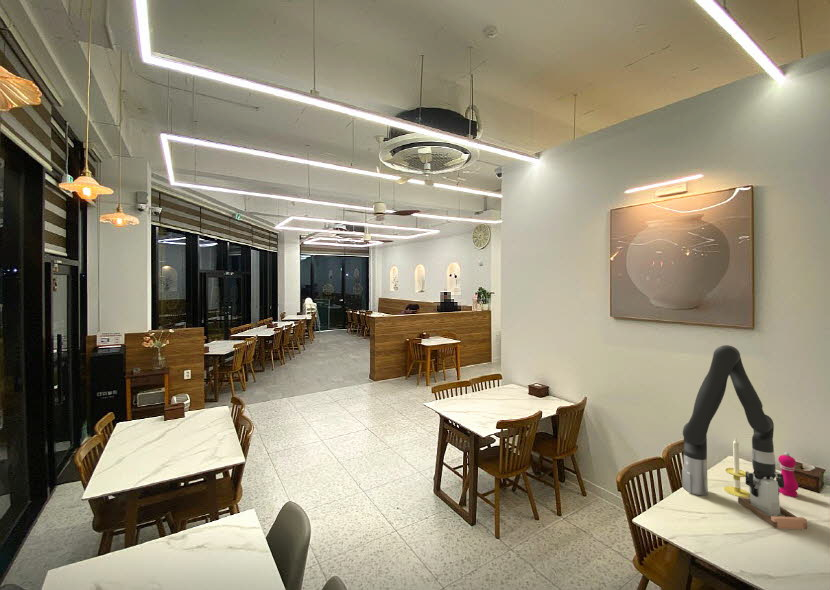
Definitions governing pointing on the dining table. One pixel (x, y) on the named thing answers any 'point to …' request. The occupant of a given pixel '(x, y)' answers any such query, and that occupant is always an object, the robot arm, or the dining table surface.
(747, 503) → the guide channel
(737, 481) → the candle
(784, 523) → the stop block
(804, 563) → the dining table surface
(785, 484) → the pepper mill
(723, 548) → the dining table surface
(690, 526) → the dining table surface
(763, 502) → the skincare box
